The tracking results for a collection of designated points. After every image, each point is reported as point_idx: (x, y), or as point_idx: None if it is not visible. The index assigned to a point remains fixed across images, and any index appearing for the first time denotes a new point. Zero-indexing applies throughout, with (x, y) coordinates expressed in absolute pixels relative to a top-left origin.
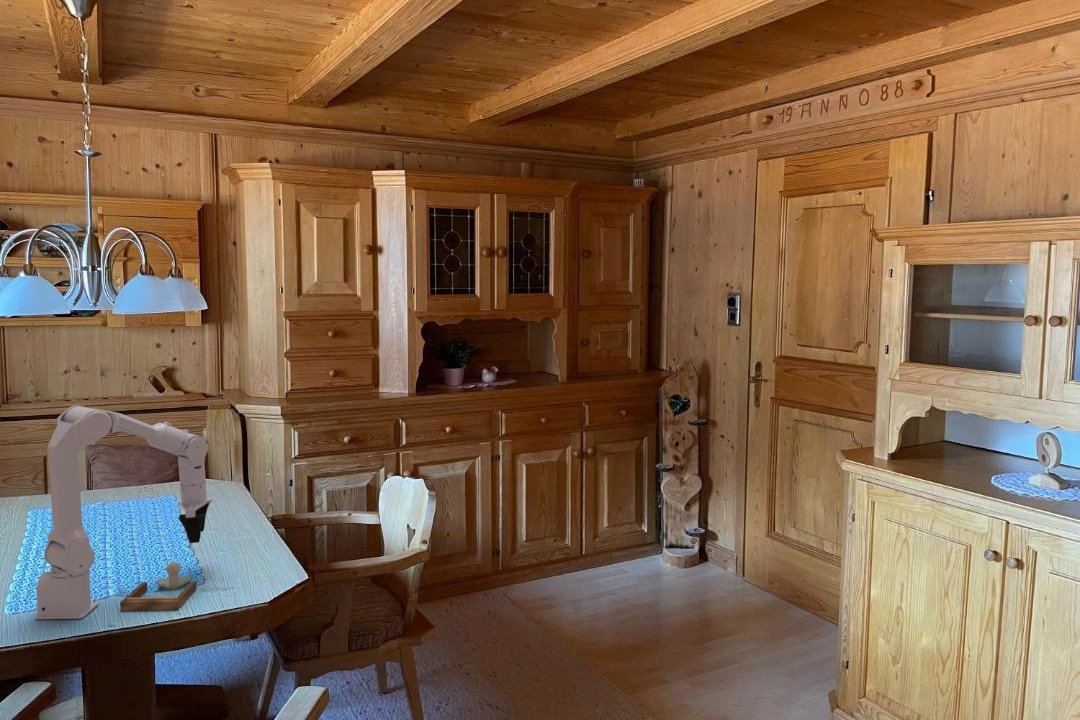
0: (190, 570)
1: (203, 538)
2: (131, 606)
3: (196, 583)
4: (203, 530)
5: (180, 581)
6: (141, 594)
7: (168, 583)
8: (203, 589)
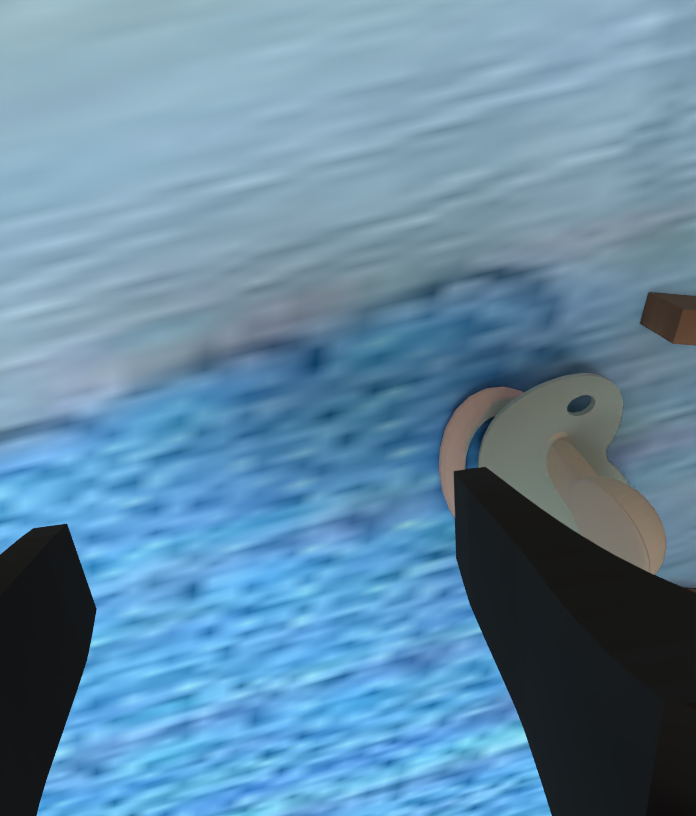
0: (229, 435)
1: None
2: None
3: (673, 304)
4: (48, 529)
5: (537, 435)
6: None
7: (555, 499)
8: (655, 242)
